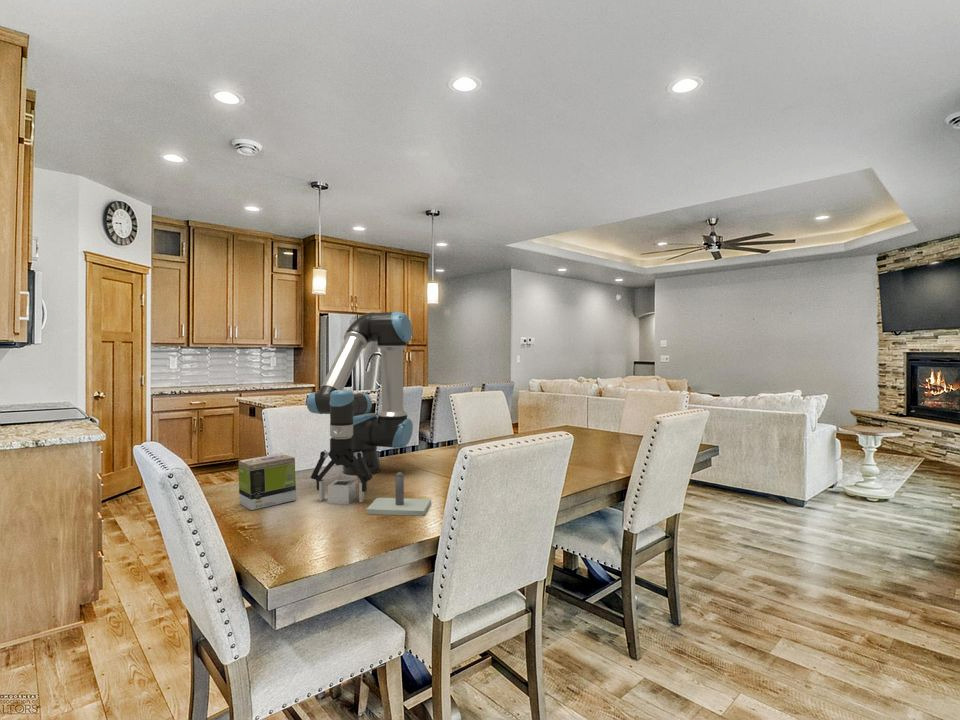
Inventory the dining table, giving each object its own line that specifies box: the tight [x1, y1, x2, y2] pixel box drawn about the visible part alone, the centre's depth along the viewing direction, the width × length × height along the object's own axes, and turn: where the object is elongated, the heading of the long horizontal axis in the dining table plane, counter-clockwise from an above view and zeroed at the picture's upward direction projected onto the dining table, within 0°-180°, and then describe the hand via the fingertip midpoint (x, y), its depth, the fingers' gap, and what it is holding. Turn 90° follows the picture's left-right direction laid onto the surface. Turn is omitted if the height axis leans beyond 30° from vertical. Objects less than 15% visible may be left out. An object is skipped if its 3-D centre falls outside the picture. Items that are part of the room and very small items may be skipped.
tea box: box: [238, 452, 297, 511], centre depth 171 cm, size 15×10×15 cm
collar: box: [327, 479, 357, 505], centre depth 173 cm, size 7×7×6 cm
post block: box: [365, 471, 432, 517], centre depth 165 cm, size 12×18×12 cm, turn 85°
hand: (341, 500), depth 173 cm, fingers open, 13 cm apart
